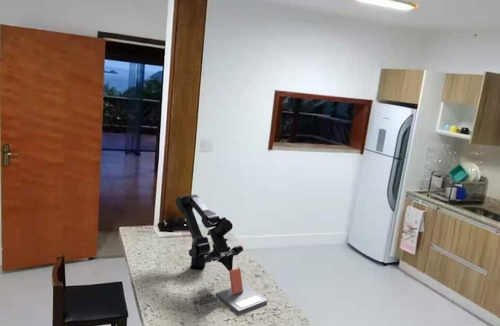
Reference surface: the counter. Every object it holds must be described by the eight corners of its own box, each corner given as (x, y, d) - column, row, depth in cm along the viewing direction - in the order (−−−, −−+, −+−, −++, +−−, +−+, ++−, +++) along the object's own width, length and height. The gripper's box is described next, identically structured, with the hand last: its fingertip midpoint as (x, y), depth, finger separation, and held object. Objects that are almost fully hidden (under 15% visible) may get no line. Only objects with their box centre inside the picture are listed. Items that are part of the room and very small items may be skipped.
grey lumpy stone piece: (200, 315, 160) (201, 306, 159) (189, 306, 165) (190, 297, 164) (220, 306, 168) (221, 297, 167) (209, 298, 173) (209, 289, 172)
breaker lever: (231, 294, 174) (228, 270, 175) (241, 291, 178) (238, 267, 179) (233, 295, 173) (230, 271, 174) (243, 291, 177) (241, 268, 178)
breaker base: (215, 296, 175) (216, 292, 174) (243, 286, 185) (243, 283, 185) (238, 314, 163) (239, 310, 163) (266, 303, 174) (267, 299, 173)
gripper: (226, 243, 196) (237, 273, 190) (193, 250, 184) (205, 283, 178) (237, 233, 189) (250, 264, 183) (205, 240, 176) (217, 274, 170)
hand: (231, 271), depth 179 cm, fingers closed
